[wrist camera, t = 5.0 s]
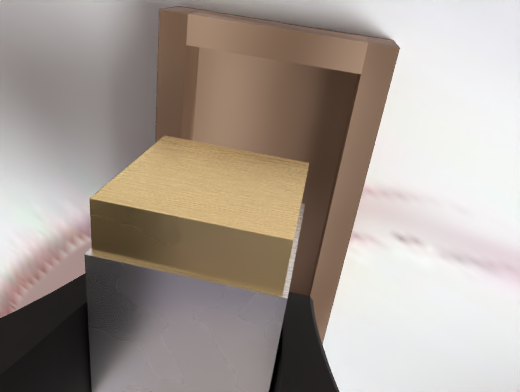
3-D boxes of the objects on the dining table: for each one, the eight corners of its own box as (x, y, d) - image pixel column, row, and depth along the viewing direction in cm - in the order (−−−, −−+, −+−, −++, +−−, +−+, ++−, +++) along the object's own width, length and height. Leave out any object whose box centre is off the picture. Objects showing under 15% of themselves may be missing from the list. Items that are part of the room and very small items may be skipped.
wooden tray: (165, 283, 23) (150, 309, 21) (179, 6, 17) (159, 9, 15) (323, 318, 22) (321, 347, 20) (393, 40, 16) (399, 47, 14)
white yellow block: (154, 356, 15) (95, 469, 12) (162, 133, 12) (81, 199, 8) (269, 383, 15) (244, 509, 11) (313, 162, 11) (298, 244, 8)
